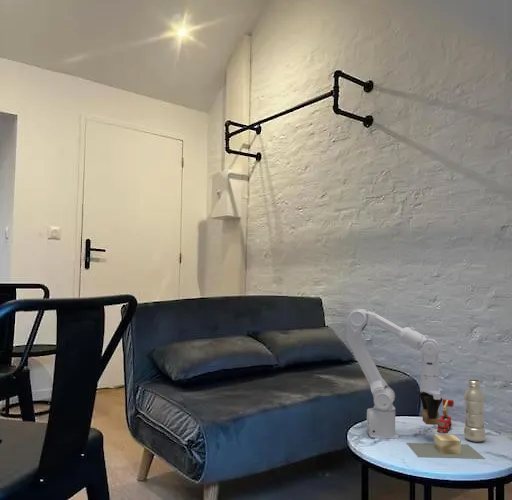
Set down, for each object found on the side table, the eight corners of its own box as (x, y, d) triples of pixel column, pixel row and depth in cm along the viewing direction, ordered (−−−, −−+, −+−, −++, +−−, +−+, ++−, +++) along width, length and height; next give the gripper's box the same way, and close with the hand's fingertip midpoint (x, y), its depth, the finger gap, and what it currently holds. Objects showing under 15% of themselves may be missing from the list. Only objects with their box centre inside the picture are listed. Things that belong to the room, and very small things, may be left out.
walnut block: (426, 424, 159) (426, 411, 160) (422, 420, 163) (422, 408, 164) (438, 424, 159) (438, 412, 160) (434, 421, 163) (434, 409, 164)
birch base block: (441, 453, 148) (440, 440, 148) (434, 447, 154) (434, 434, 154) (460, 454, 148) (460, 440, 148) (453, 447, 154) (453, 434, 154)
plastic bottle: (488, 441, 162) (487, 380, 163) (481, 445, 157) (480, 383, 158) (468, 436, 166) (468, 377, 167) (460, 441, 161) (460, 380, 163)
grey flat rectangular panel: (418, 458, 145) (418, 457, 145) (406, 443, 158) (406, 442, 158) (485, 460, 144) (485, 459, 144) (468, 445, 157) (468, 444, 157)
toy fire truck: (436, 433, 170) (436, 405, 170) (444, 423, 181) (444, 397, 182) (446, 434, 168) (446, 406, 169) (454, 425, 180) (453, 398, 180)
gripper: (449, 379, 155) (450, 423, 154) (434, 371, 169) (434, 411, 169) (427, 379, 155) (427, 422, 154) (414, 371, 170) (414, 410, 169)
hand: (430, 416), depth 161 cm, fingers closed on walnut block, 4 cm apart
